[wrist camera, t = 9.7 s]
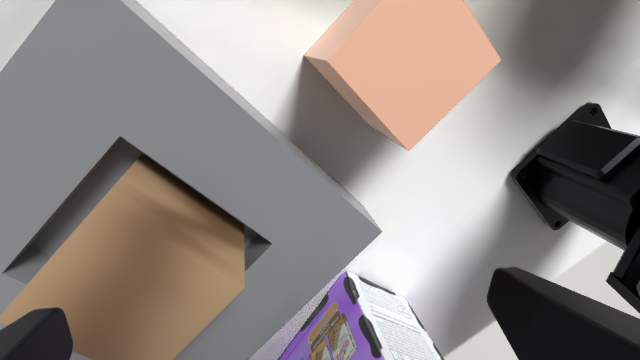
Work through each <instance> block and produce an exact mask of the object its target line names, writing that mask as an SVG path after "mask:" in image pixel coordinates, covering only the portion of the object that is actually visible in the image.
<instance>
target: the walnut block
mask: <svg viewBox="0 0 640 360" xmlns="http://www.w3.org/2000/svg"><path fill="white" fill-rule="evenodd" d="M244 288H245V260H244V225H243V224H242V223H240V222H239V221H237V220H236V219H235V218H233V217H232V216H230V215H229V214H227V213H226V212H225V211H223V210H222V209H220V208H219V207H218V206H216V205H215V204H213V203H212V202H210V201H209V200H208V199H206V198H205V197H203V196H202V195H200V194H199V193H198V192H196V191H195V190H193V189H192V188H191V187H189V186H188V185H186V184H185V183H183V182H182V181H181V180H179V179H178V178H176V177H175V176H173V175H172V174H171V173H169V172H168V171H166V170H165V169H163V168H162V167H161V166H159V165H158V164H156V163H155V162H154V161H152V160H151V159H149V158H148V157H146V156H145V155H144V154H141V156H140V157H139V158H138V159H137V160H136V161H135V162H134V164H133V165H132V166H131V167H130V168H129V169H128V170H127V171H126V173H125V174H124V175H123V176H122V177H121V178H120V179H119V181H118V182H117V183H116V184H115V185H114V186H113V187H112V188H111V190H110V191H109V192H108V193H107V194H106V195H105V196H104V198H103V199H102V200H101V201H100V202H99V203H98V204H97V205H96V207H95V208H94V209H93V210H92V211H91V212H90V213H89V215H88V216H87V217H86V218H85V219H84V220H83V221H82V223H81V224H80V225H79V226H78V227H77V228H76V229H75V231H74V232H73V233H72V234H71V235H70V236H69V237H68V239H67V240H66V241H65V242H64V243H63V244H62V245H61V246H60V248H59V249H58V250H57V251H56V252H55V253H54V254H53V256H52V257H51V258H50V259H49V260H48V261H47V262H46V264H45V265H44V266H43V267H42V268H41V269H40V270H39V272H38V273H37V274H36V275H35V276H34V277H33V278H32V280H31V281H30V282H29V283H28V284H27V285H26V286H25V287H24V289H23V290H22V291H21V292H20V293H19V294H18V295H17V297H16V298H15V299H14V300H13V301H12V302H11V303H10V305H9V306H8V307H7V308H6V309H5V310H4V311H3V313H2V314H1V315H0V323H2V324H5V325H7V326H8V325H9V324H11V323H13V322H14V321H16V320H17V319H19V318H21V317H22V316H24V315H25V314H27V313H29V312H30V311H32V310H35V309H41V308H52V307H59V308H61V309H62V310H63V311H64V313H65V315H66V318H67V322H68V325H69V328H70V332H71V335H72V338H73V351H72V352H75V353H77V354H80V355H82V356H85V357H87V358H90V359H92V360H172V359H173V358H174V357H175V356H176V355H177V354H178V353H179V352H180V351H181V350H182V349H183V348H184V347H186V346H187V345H188V344H189V343H190V342H191V341H192V340H193V339H194V338H195V337H196V336H197V335H198V334H199V333H200V332H201V331H202V330H203V329H204V328H205V327H206V326H207V325H208V324H209V323H210V322H211V321H212V320H213V319H214V318H215V317H216V316H217V315H218V314H219V313H220V312H221V311H222V310H223V309H224V308H225V307H226V306H227V305H228V304H229V303H230V302H231V301H232V300H233V299H234V298H235V297H236V296H237V295H238V294H239V293H240V292H241V291H242V290H243V289H244Z"/></svg>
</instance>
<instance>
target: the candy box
mask: <svg viewBox="0 0 640 360" xmlns="http://www.w3.org/2000/svg"><path fill="white" fill-rule="evenodd" d="M279 360H444V359H443V357H442V355H441V354H440V352H439V351H438V349H437V348H436V346H435V345H434V343H433V341H432V340H431V338H430V336H429V335H428V334H427V332H426V330H425V329H424V327H423V325H422V324H421V322H420V321H419V319H418V317H417V316H416V314H415V313H414V311H413V310H412V308H411V306H410V305H409V303H408V302H407V300H406V299H405V298H403V297H401V296H399V295H397V294H395V293H393V292H391V291H389V290H387V289H385V288H382V287H380V286H378V285H376V284H374V283H372V282H370V281H368V280H366V279H364V278H362V277H360V276H358V275H355V274H353V273H351V272H349V271H347V272H346V273H344V274H342V275H341V276H340V278H339V279H338V280H337V281H336V283H335V284H334V285H333V287H332V288H331V289H330V291H329V292H328V294H327V295H326V296H325V298H324V299H323V301H322V302H321V304H320V305H319V306H318V308H317V309H316V310H315V311H314V312H313V314H312V315H311V316H310V318H309V319H308V321H307V322H306V323H305V325H304V326H303V328H302V329H301V331H300V332H299V333H298V335H297V336H296V337H295V338H294V340H293V341H292V342H291V344H290V345H289V346H288V348H287V349H286V351H285V352H284V354H283V355H282V356H281V358H280V359H279Z"/></svg>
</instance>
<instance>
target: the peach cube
mask: <svg viewBox="0 0 640 360" xmlns="http://www.w3.org/2000/svg"><path fill="white" fill-rule="evenodd" d="M304 56H305V57H306V58H307V60H308V61H309V62H310V63H311V64H312V65H313V66H314V67H315V68H316V69H317V70H318V71H319V72H320V73H321V75H322V76H323V77H324V78H325V79H326V80H327V81H328V82H329V83H330V84H331V85H332V86H333V87H334V88H335V89H336V91H337V92H338V93H339V94H340V95H341V96H342V97H343V98H344V99H345V100H346V101H347V102H348V103H349V104H350V106H351V107H352V108H353V109H354V110H355V111H356V112H357V113H358V114H359V115H360V116H361V117H362V118H363V119H364V121H365V122H366V123H367V124H368V125H370V126H371V127H373V128H374V129H376V130H377V131H379V132H380V133H382V134H383V135H385V136H386V137H388V138H389V139H391V140H392V141H394V142H396V143H397V144H399V145H400V146H402V147H403V148H405V149H406V150H408V151H409V150H410V149H411V148H412V147H413V146H414V145H415V144H417V143H418V142H419V141H420V140H421V139H422V138H423V137H424V136H425V135H426V134H427V133H428V132H429V131H430V130H431V129H432V128H433V127H434V126H435V125H436V124H437V123H438V122H439V121H440V120H441V119H442V118H443V117H444V116H445V115H446V114H447V113H448V112H449V111H450V110H451V109H452V108H453V107H454V106H455V105H456V104H457V103H458V102H459V101H460V100H461V99H462V98H463V97H465V96H466V95H467V94H468V93H469V92H470V91H471V90H472V89H473V88H474V87H475V86H476V85H477V84H478V83H479V82H480V81H481V80H482V79H483V78H484V77H485V76H486V75H487V74H488V73H489V72H490V71H491V70H492V69H493V68H494V67H495V66H496V65H497V64H498V63H499V62H500V61H501V59H500V57H499V55H498V54H497V52H496V51H495V49H494V47H493V46H492V44H491V43H490V41H489V39H488V38H487V36H486V35H485V33H484V31H483V30H482V28H481V26H480V25H479V23H478V22H477V20H476V18H475V17H474V15H473V14H472V12H471V10H470V9H469V7H468V6H467V4H466V2H465V1H464V0H354V1H353V2H352V3H351V4H350V5H349V6H348V7H347V9H346V10H345V11H344V12H343V13H342V14H341V15H340V16H339V17H338V18H337V19H336V21H335V22H334V23H333V24H332V25H331V26H330V27H329V28H328V29H327V30H326V31H325V33H324V34H323V35H322V36H321V37H320V38H319V39H318V40H317V41H316V42H315V43H314V45H313V46H312V47H311V48H310V49H309V50H308V51H307V52H306V53H305V54H304Z"/></svg>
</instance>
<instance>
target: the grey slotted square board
mask: <svg viewBox="0 0 640 360" xmlns="http://www.w3.org/2000/svg"><path fill="white" fill-rule="evenodd" d="M141 154H144V155H145V156H146V157H148V158H149V159H151V160H152V161H154V162H155V163H156V164H158V165H159V166H161V167H162V168H163V169H165V170H166V171H168V172H169V173H171V174H172V175H173V176H175V177H176V178H178V179H179V180H181V181H182V182H183V183H185V184H186V185H188V186H189V187H191V188H192V189H193V190H195V191H196V192H198V193H199V194H200V195H202V196H203V197H205V198H206V199H208V200H209V201H210V202H212V203H213V204H215V205H216V206H218V207H219V208H220V209H222V210H223V211H225V212H226V213H227V214H229V215H230V216H232V217H233V218H235V219H236V220H237V221H239V222H240V223H242V224H243V225H244V260H245V288H244V289H243V290H242V291H241V292H240V293H239V294H238V295H237V296H236V297H235V298H234V299H233V300H232V301H231V302H230V303H229V304H228V305H227V306H226V307H225V308H224V309H223V310H222V311H221V312H220V313H219V314H218V315H217V316H216V317H215V318H214V319H213V320H212V321H211V322H210V323H209V324H208V325H207V326H206V327H205V328H204V329H203V330H202V331H201V332H200V333H199V334H198V335H197V336H196V337H195V338H194V339H193V340H192V341H191V342H190V343H189V344H188V345H187V346H186V347H184V348H183V349H182V350H181V351H180V352H179V353H178V354H177V355H176V356H175V357H174V358H173V359H172V360H248V359H249V358H250V357H251V356H252V355H253V354H254V353H255V352H256V351H257V350H258V349H259V348H260V347H261V346H263V345H264V344H265V343H266V342H267V341H268V340H269V339H270V338H271V337H272V336H273V335H274V334H275V333H276V332H277V331H278V330H279V329H280V328H281V327H283V326H284V325H285V324H286V323H287V322H288V321H289V320H290V319H291V318H292V317H293V316H294V315H295V314H296V313H297V312H298V311H299V310H300V309H301V308H302V307H304V306H305V305H306V304H307V303H308V302H309V301H310V300H311V299H312V298H313V297H314V296H315V295H316V294H317V293H318V292H319V291H320V290H321V289H322V288H324V287H325V286H326V285H327V284H328V283H329V282H330V281H331V280H332V279H333V278H334V277H335V276H336V275H337V274H338V273H339V272H340V271H341V270H342V269H344V268H345V267H346V266H347V265H348V264H349V263H350V262H351V261H352V260H353V259H354V258H355V257H356V256H357V255H358V254H359V253H360V252H361V251H362V250H364V249H365V248H366V247H367V246H368V245H369V244H370V243H371V242H372V241H373V240H374V239H375V238H376V237H377V236H378V235H379V234H380V233H381V232H382V231H381V229H380V228H379V227H378V225H377V224H376V223H375V221H374V220H373V219H372V217H371V216H370V214H369V213H368V212H367V210H366V209H365V208H364V206H363V205H362V204H360V203H359V202H358V201H357V200H356V199H355V198H354V197H353V196H352V195H350V194H349V193H348V192H347V191H346V190H345V189H344V188H343V187H342V186H340V185H339V184H338V183H337V182H336V181H335V180H334V179H333V178H332V177H331V176H329V175H328V174H327V173H326V172H325V171H324V170H323V169H322V168H321V167H319V166H318V165H317V164H316V163H315V162H314V161H313V160H312V159H311V158H309V157H308V156H307V155H306V154H305V153H304V152H303V151H302V150H301V149H299V148H298V147H297V146H296V145H295V144H294V143H293V142H292V141H291V140H289V139H288V138H287V137H286V136H285V135H284V134H283V133H282V132H281V131H279V130H278V129H277V128H276V127H275V126H274V125H273V124H272V123H271V122H270V121H268V120H267V119H266V118H265V117H264V116H263V115H262V114H261V113H260V112H258V111H257V110H256V109H255V108H254V107H253V106H252V105H251V104H250V103H248V102H247V101H246V100H245V99H244V98H243V97H242V96H241V95H240V94H238V93H237V92H236V91H235V90H234V89H233V88H232V87H231V86H230V85H228V84H227V83H226V82H225V81H224V80H223V79H222V78H221V77H220V76H218V75H217V74H216V73H215V72H214V71H213V70H212V69H211V68H210V67H209V66H207V65H206V64H205V63H204V62H203V61H202V60H201V59H200V58H199V57H197V56H196V55H195V54H194V53H193V52H192V51H191V50H190V49H189V48H187V47H186V46H185V45H184V44H183V43H182V42H181V41H180V40H179V39H177V38H176V37H175V36H174V35H173V34H172V33H171V32H170V31H169V30H167V29H166V28H165V27H164V26H163V25H162V24H161V23H160V22H159V21H158V20H156V19H155V18H154V17H153V16H152V15H151V14H150V13H149V12H148V11H146V10H145V9H144V8H143V7H142V6H141V5H140V4H139V3H138V2H136V1H135V0H56V1H55V2H54V3H53V4H52V6H51V7H50V8H49V10H48V11H47V12H46V14H45V15H44V16H43V17H42V19H41V20H40V21H39V23H38V24H37V25H36V27H35V28H34V29H33V31H32V32H31V33H30V34H29V36H28V37H27V38H26V40H25V41H24V42H23V44H22V45H21V46H20V47H19V49H18V50H17V51H16V53H15V54H14V55H13V57H12V58H11V59H10V60H9V62H8V63H7V64H6V66H5V67H4V68H3V70H2V71H1V72H0V315H1V314H2V313H3V311H4V310H5V309H6V308H7V307H8V306H9V305H10V303H11V302H12V301H13V300H14V299H15V298H16V297H17V295H18V294H19V293H20V292H21V291H22V290H23V289H24V287H25V286H26V285H27V284H28V283H29V282H30V281H31V280H32V278H33V277H34V276H35V275H36V274H37V273H38V272H39V270H40V269H41V268H42V267H43V266H44V265H45V264H46V262H47V261H48V260H49V259H50V258H51V257H52V256H53V254H54V253H55V252H56V251H57V250H58V249H59V248H60V246H61V245H62V244H63V243H64V242H65V241H66V240H67V239H68V237H69V236H70V235H71V234H72V233H73V232H74V231H75V229H76V228H77V227H78V226H79V225H80V224H81V223H82V221H83V220H84V219H85V218H86V217H87V216H88V215H89V213H90V212H91V211H92V210H93V209H94V208H95V207H96V205H97V204H98V203H99V202H100V201H101V200H102V199H103V198H104V196H105V195H106V194H107V193H108V192H109V191H110V190H111V188H112V187H113V186H114V185H115V184H116V183H117V182H118V181H119V179H120V178H121V177H122V176H123V175H124V174H125V173H126V171H127V170H128V169H129V168H130V167H131V166H132V165H133V164H134V162H135V161H136V160H137V159H138V158H139V157H140V156H141ZM6 326H7V325H5V324H2V323H0V330H1V329H3V328H5V327H6ZM70 360H92V359H90V358H87V357H85V356H82V355H80V354H77V353H75V352H72V354H71V357H70Z"/></svg>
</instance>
